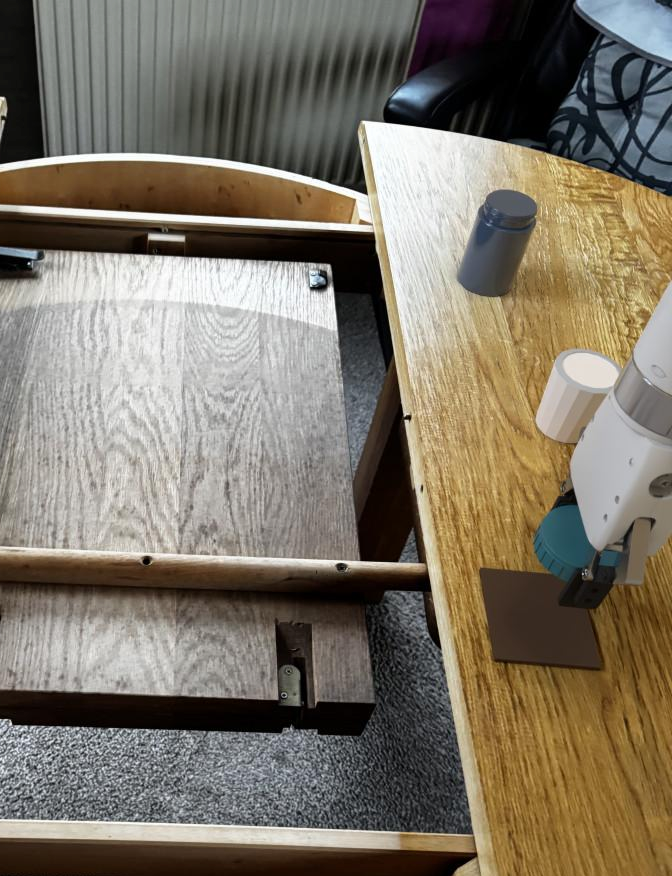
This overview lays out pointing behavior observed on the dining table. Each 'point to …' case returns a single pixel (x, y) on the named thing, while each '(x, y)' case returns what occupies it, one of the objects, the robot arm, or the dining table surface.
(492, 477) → the dining table surface
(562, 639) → the coaster
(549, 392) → the white short cylinder
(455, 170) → the dining table surface
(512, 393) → the dining table surface
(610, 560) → the lid
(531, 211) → the jar
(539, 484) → the dining table surface
